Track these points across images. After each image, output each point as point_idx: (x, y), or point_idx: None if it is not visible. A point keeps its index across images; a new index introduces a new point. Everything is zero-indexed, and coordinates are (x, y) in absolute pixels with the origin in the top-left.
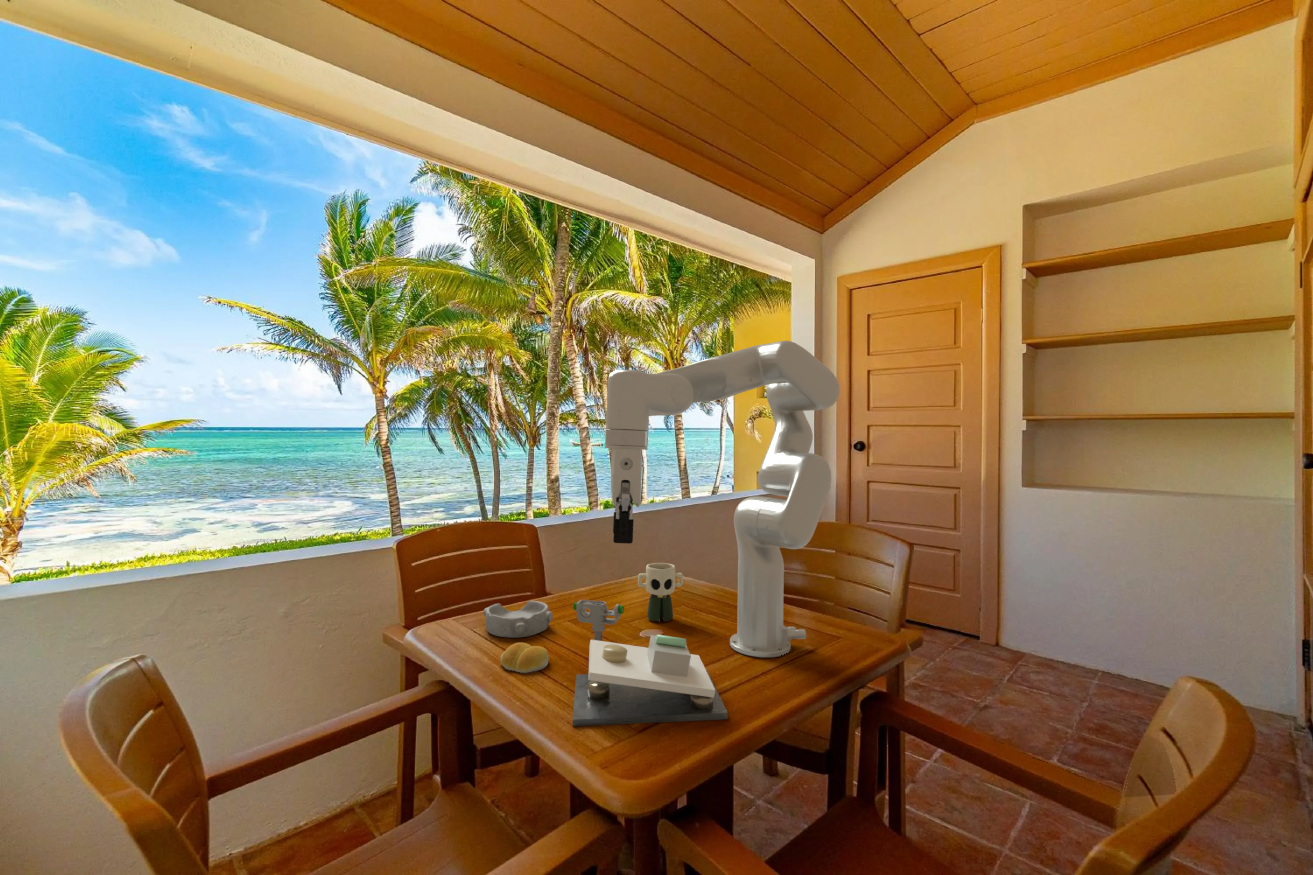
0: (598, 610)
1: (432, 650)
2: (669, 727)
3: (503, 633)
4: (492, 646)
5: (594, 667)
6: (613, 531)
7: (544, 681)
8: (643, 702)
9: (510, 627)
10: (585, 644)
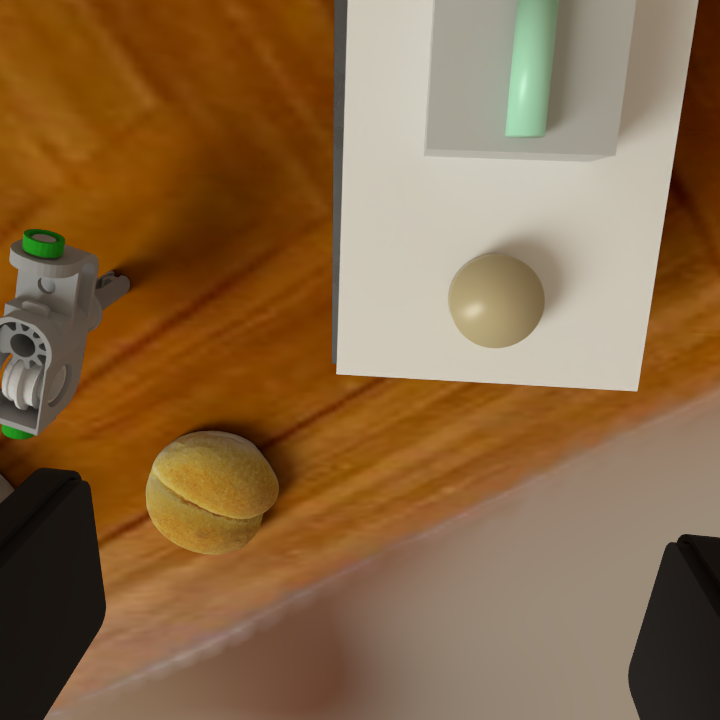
0: (64, 341)
1: (132, 674)
2: (691, 105)
3: None
4: None
5: (594, 373)
6: (90, 632)
7: (332, 435)
8: None
9: None
10: None
